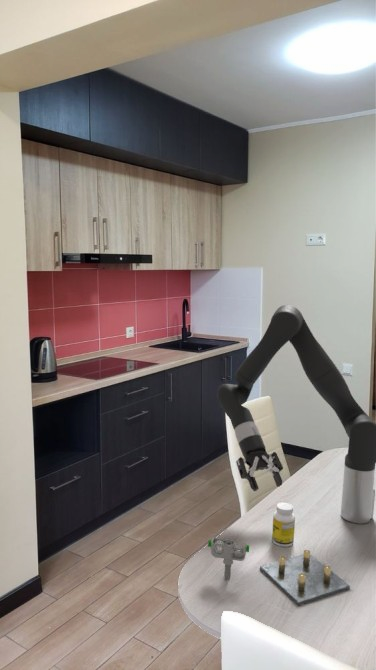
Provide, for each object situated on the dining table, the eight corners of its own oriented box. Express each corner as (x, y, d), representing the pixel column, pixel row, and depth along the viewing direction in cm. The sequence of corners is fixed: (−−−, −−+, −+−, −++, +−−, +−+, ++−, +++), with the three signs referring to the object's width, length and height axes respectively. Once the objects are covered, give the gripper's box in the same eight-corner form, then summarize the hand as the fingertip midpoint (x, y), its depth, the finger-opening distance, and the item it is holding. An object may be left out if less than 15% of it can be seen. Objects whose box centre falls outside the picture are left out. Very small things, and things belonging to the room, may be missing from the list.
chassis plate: (308, 556, 144) (309, 541, 144) (349, 589, 130) (351, 572, 130) (259, 569, 137) (260, 553, 137) (298, 606, 123) (299, 588, 123)
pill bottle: (269, 536, 154) (271, 501, 153) (290, 536, 155) (292, 500, 153) (274, 547, 148) (277, 511, 147) (296, 547, 149) (298, 511, 147)
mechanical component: (246, 585, 130) (248, 548, 129) (206, 579, 132) (207, 542, 131) (247, 578, 133) (249, 541, 132) (208, 572, 135) (209, 536, 134)
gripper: (234, 436, 160) (253, 486, 151) (273, 431, 166) (293, 479, 158) (225, 447, 165) (243, 496, 157) (262, 441, 172) (281, 489, 163)
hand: (268, 487), depth 157 cm, fingers open, 8 cm apart
